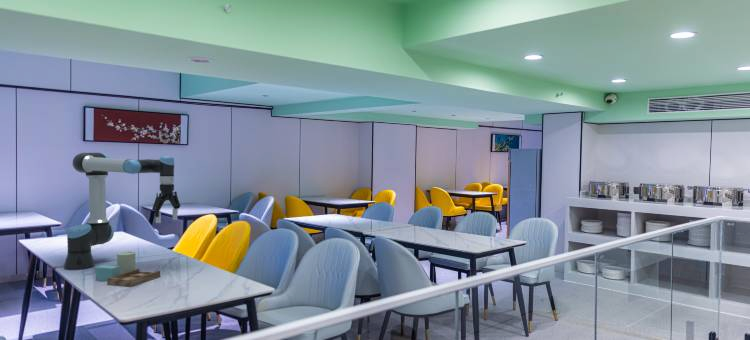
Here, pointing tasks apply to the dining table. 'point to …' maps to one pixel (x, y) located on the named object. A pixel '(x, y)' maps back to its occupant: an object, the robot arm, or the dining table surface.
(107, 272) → the wing block
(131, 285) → the cradle jig
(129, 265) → the can
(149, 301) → the dining table surface
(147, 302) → the dining table surface
